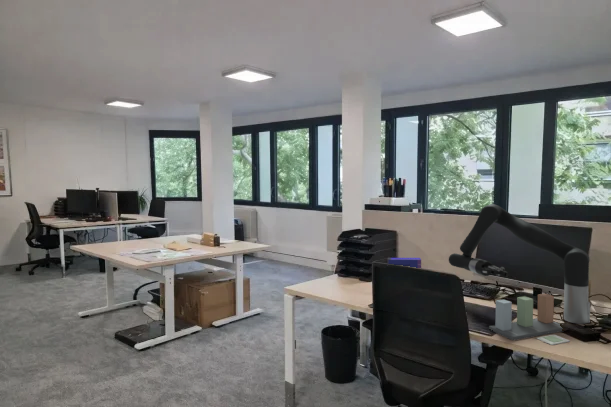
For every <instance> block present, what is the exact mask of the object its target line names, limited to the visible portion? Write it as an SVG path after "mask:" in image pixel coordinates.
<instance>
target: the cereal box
mask: <svg viewBox="0 0 611 407" xmlns="http://www.w3.org/2000/svg"><path fill="white" fill-rule="evenodd" d="M388 264H394V265H403V266H410V267H416V268H421V269H422V258H421V257H387V265H388Z"/></svg>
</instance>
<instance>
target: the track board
mask: <svg viewBox="0 0 611 407" xmlns="http://www.w3.org/2000/svg"><path fill="white" fill-rule="evenodd" d="M560 324H561V323H560V322H556V321H554V320H553V322H552V323H543V322H541V321H538V320H537V317H535V318H533V326H529V327H524V326H521V325H519V324H517V321H511V330H505V331H502V330H500V329H498V328H496V327H495V324H493V325H489V326H488V330H489V329H491V330H490V331H492V330H493V331H492V332H493V333H496V334H497V335H500V336H502V337H505V338H506V339H509V340H511V341H517V340H522V339H523V340H524V339H528V338H533V337H541V336H543V335H544V336H546V335H552V334H555V333H562V332H563V331H562V329H563V328H562V327H561V326H560Z"/></svg>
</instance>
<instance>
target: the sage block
mask: <svg viewBox="0 0 611 407" xmlns="http://www.w3.org/2000/svg"><path fill="white" fill-rule="evenodd" d="M516 299H517V300H516V322H517V324H519V325H521V326H524V327H529V326H533V319H534V298H531V297H528V296H519V297H516Z"/></svg>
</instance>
